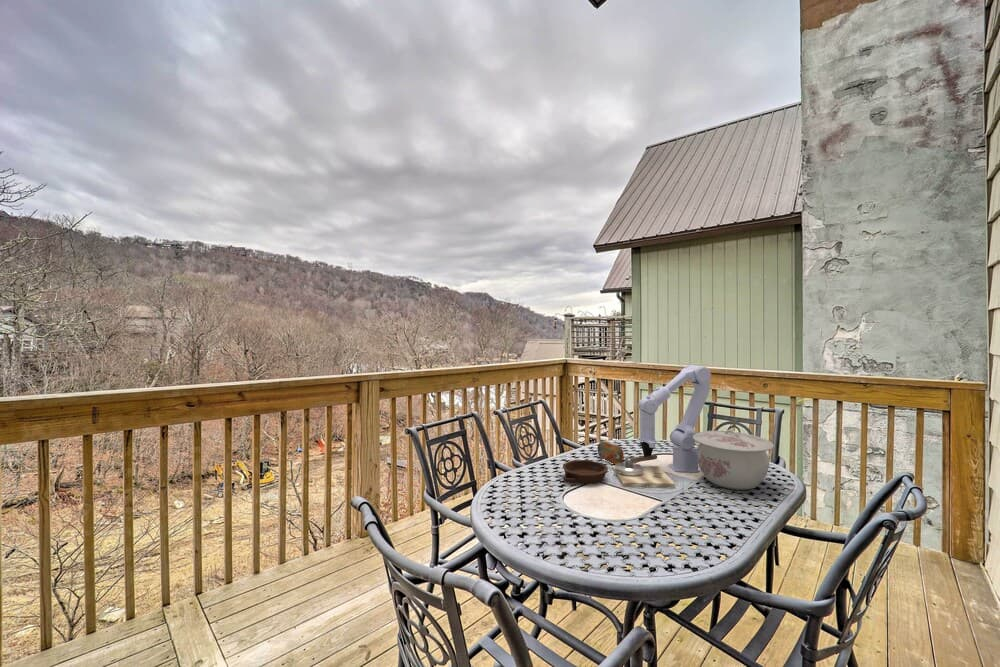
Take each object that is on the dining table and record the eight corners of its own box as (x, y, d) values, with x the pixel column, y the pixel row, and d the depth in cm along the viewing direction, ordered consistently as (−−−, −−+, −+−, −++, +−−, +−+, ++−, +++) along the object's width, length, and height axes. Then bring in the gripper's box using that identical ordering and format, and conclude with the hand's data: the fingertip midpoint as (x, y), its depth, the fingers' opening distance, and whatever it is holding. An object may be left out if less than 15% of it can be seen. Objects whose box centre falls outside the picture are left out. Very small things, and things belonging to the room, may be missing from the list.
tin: (597, 457, 197) (597, 439, 197) (602, 456, 199) (602, 438, 198) (619, 467, 184) (619, 447, 183) (625, 466, 185) (625, 447, 185)
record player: (658, 469, 181) (658, 465, 181) (674, 487, 161) (674, 483, 161) (612, 469, 182) (612, 465, 182) (623, 486, 162) (623, 482, 162)
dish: (619, 477, 172) (619, 465, 172) (586, 492, 157) (586, 479, 157) (583, 467, 185) (584, 455, 185) (549, 479, 170) (549, 467, 170)
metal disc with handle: (626, 477, 167) (626, 464, 167) (609, 468, 177) (609, 455, 177) (666, 470, 174) (666, 458, 174) (647, 462, 184) (647, 450, 184)
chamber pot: (771, 504, 146) (771, 443, 146) (684, 486, 162) (685, 431, 162) (776, 479, 169) (776, 427, 168) (700, 466, 185) (700, 418, 184)
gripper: (633, 423, 187) (633, 454, 187) (642, 431, 172) (642, 465, 173) (650, 423, 186) (649, 454, 187) (660, 432, 172) (660, 465, 172)
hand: (647, 459), depth 180 cm, fingers closed
